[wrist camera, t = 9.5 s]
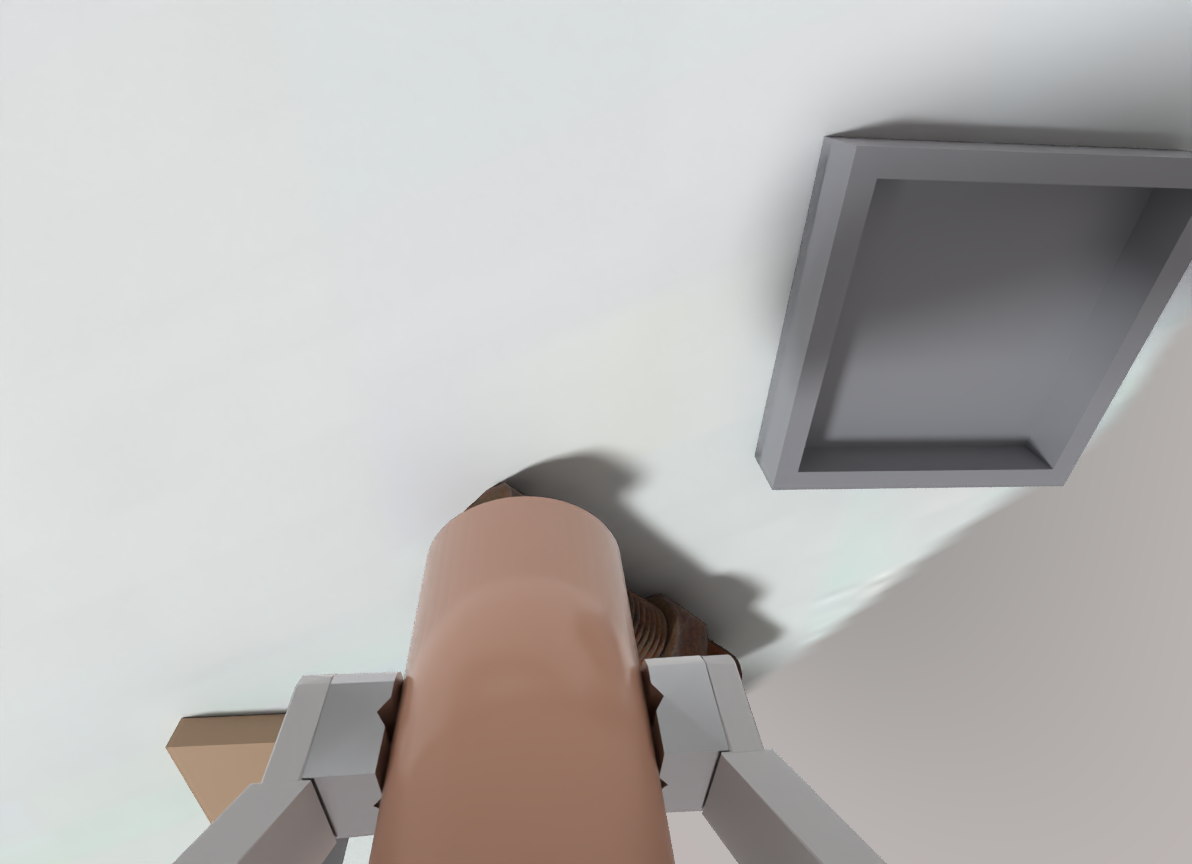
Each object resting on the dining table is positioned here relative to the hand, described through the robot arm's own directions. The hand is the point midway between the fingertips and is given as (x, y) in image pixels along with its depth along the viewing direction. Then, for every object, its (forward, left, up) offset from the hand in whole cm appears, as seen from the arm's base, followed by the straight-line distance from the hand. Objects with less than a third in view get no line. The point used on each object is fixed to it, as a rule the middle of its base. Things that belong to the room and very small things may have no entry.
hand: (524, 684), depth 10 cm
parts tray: (-2, +15, -13) cm, 20 cm away
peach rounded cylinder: (0, 0, -3) cm, 3 cm away
